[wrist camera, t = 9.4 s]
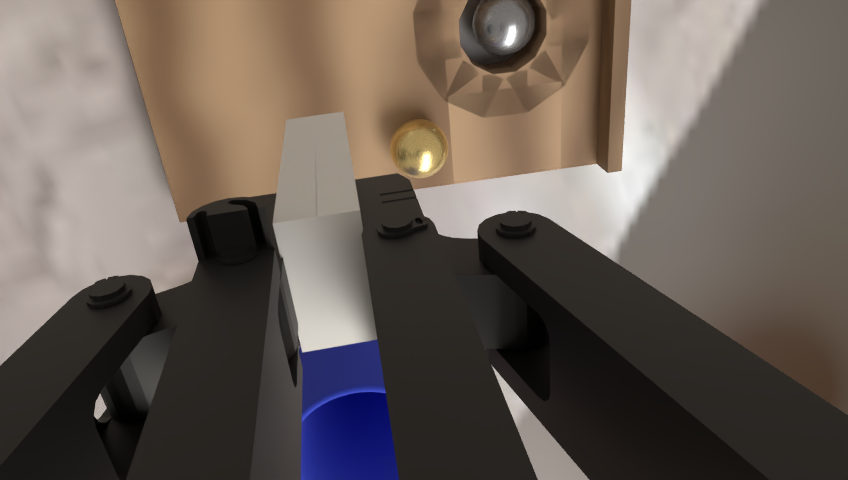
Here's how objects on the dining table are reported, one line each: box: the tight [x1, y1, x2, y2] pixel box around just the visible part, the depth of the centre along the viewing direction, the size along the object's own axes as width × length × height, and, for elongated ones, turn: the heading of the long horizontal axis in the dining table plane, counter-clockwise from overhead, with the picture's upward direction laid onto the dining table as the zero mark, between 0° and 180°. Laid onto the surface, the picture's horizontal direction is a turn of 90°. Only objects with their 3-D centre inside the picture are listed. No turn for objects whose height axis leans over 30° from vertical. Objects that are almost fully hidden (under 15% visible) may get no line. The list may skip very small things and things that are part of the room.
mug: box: [299, 340, 399, 480], centre depth 37 cm, size 8×12×10 cm
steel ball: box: [473, 0, 535, 55], centre depth 33 cm, size 3×3×3 cm
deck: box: [115, 0, 631, 222], centre depth 32 cm, size 24×16×4 cm, turn 95°
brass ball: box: [390, 119, 448, 178], centre depth 32 cm, size 3×3×3 cm
